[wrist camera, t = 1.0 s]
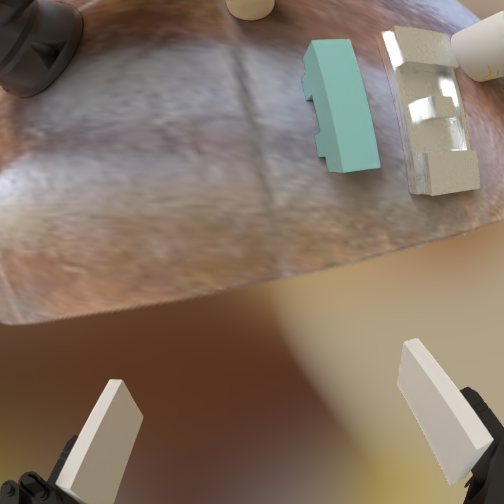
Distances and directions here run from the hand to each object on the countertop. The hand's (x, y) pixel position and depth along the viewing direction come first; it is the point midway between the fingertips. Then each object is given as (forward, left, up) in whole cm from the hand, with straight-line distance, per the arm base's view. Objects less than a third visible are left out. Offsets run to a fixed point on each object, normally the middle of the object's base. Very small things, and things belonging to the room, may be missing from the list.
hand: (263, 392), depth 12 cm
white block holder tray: (-13, +24, -22) cm, 35 cm away
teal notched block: (-13, +10, -22) cm, 28 cm away
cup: (-22, +36, -22) cm, 48 cm away
